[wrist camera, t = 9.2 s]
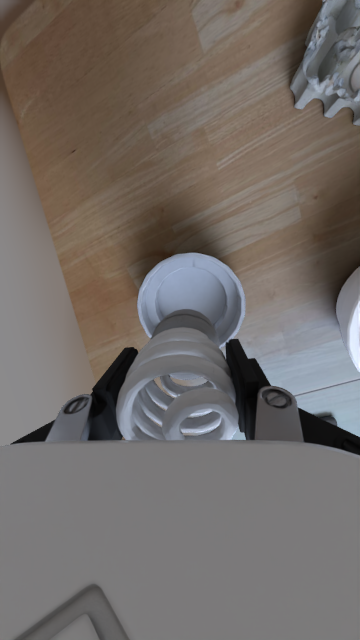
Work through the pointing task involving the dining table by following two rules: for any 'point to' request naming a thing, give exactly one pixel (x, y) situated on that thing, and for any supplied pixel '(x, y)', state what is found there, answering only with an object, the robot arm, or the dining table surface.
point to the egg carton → (332, 60)
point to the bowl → (350, 316)
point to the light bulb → (180, 363)
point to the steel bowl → (193, 293)
